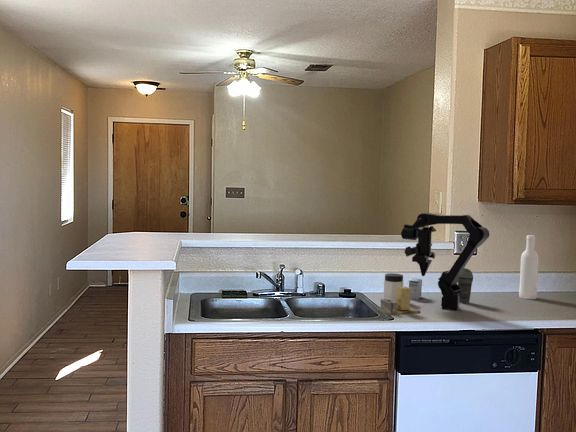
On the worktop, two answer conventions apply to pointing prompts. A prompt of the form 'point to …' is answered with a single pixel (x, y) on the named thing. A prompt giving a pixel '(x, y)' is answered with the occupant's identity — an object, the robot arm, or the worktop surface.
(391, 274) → the lidded container
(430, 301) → the worktop surface
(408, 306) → the tan rectangular block
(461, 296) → the beverage cup
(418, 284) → the medicine box
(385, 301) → the board
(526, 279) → the bottle
